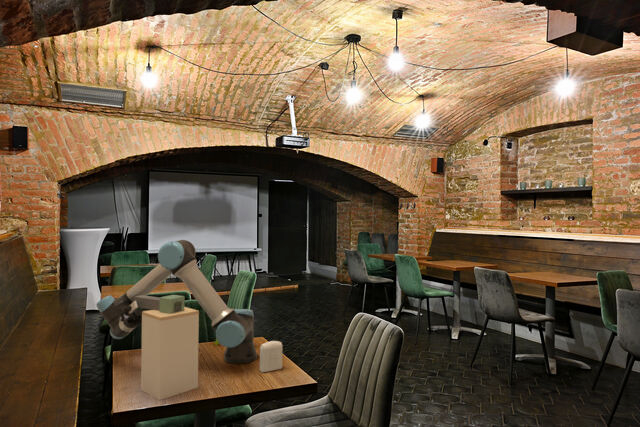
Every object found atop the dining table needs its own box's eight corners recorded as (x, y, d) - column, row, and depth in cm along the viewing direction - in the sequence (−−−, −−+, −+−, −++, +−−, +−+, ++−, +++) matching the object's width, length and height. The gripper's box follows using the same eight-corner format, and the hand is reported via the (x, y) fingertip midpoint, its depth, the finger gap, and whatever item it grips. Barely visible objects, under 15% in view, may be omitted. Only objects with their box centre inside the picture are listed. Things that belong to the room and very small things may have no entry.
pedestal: (197, 387, 173) (198, 310, 173) (159, 400, 162) (160, 317, 162) (178, 378, 183) (179, 305, 183) (141, 389, 171) (142, 311, 171)
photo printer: (279, 366, 199) (279, 338, 199) (283, 369, 195) (283, 340, 195) (258, 370, 193) (258, 342, 193) (262, 373, 190) (262, 344, 190)
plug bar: (184, 310, 174) (184, 296, 174) (170, 313, 168) (170, 299, 168) (145, 304, 185) (145, 290, 184) (131, 307, 178) (131, 293, 178)
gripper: (160, 323, 201) (182, 305, 189) (103, 334, 183) (123, 315, 170) (156, 307, 204) (177, 289, 191) (99, 316, 185) (119, 297, 173)
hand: (152, 301), depth 181 cm, fingers open, 13 cm apart
